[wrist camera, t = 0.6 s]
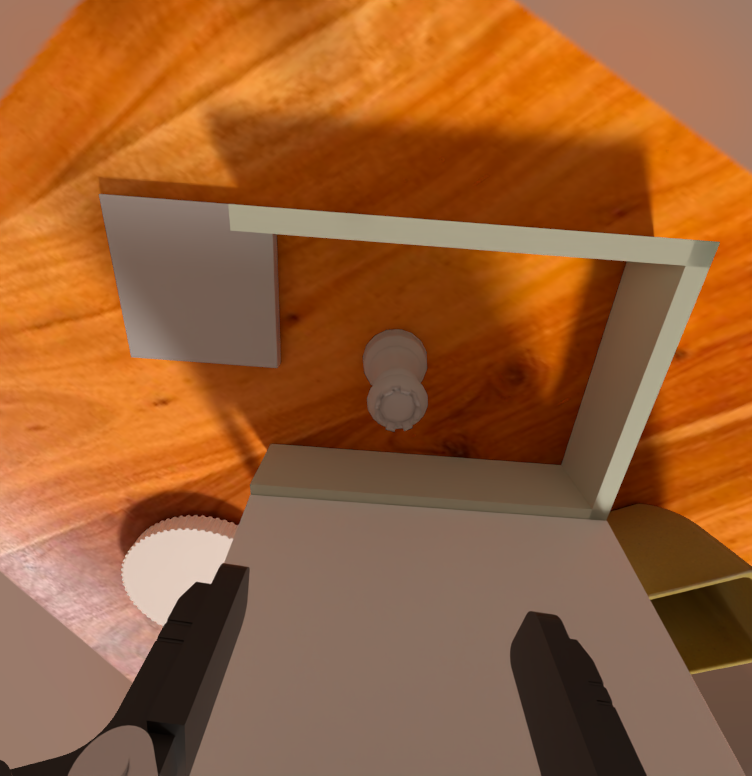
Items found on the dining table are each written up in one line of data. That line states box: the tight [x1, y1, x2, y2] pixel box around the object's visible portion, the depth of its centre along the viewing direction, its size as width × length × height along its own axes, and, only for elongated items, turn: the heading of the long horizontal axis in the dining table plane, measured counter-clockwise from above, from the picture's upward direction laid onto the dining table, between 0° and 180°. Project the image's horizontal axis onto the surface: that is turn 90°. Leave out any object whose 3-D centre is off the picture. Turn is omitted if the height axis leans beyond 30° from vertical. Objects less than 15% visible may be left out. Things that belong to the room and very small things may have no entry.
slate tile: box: [99, 194, 281, 368], centre depth 25 cm, size 10×10×1 cm
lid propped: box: [189, 495, 745, 776], centre depth 19 cm, size 24×4×18 cm, turn 86°
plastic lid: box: [121, 515, 239, 626], centre depth 35 cm, size 14×14×2 cm
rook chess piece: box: [363, 329, 428, 432], centre depth 23 cm, size 4×4×8 cm
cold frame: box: [228, 204, 720, 521], centre depth 23 cm, size 24×24×12 cm
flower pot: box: [606, 504, 752, 674], centre depth 29 cm, size 9×9×9 cm
